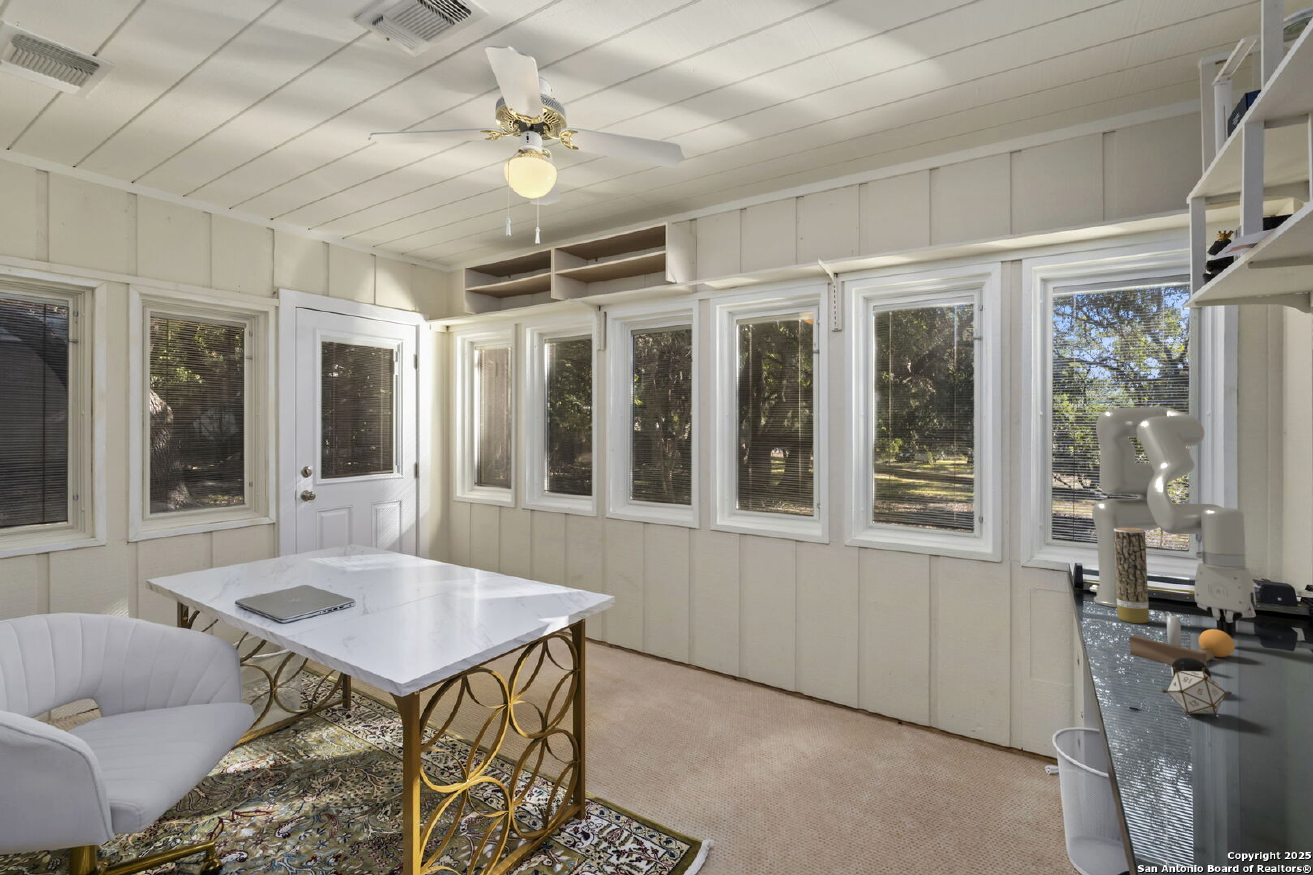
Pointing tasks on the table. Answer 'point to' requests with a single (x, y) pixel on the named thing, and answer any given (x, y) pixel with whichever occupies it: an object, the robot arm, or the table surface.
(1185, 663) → the billiard ball
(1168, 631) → the grey pin
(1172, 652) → the brown wooden plank
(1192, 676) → the game die
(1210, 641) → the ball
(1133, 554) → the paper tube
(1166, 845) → the table surface
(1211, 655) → the maple pin
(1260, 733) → the table surface
